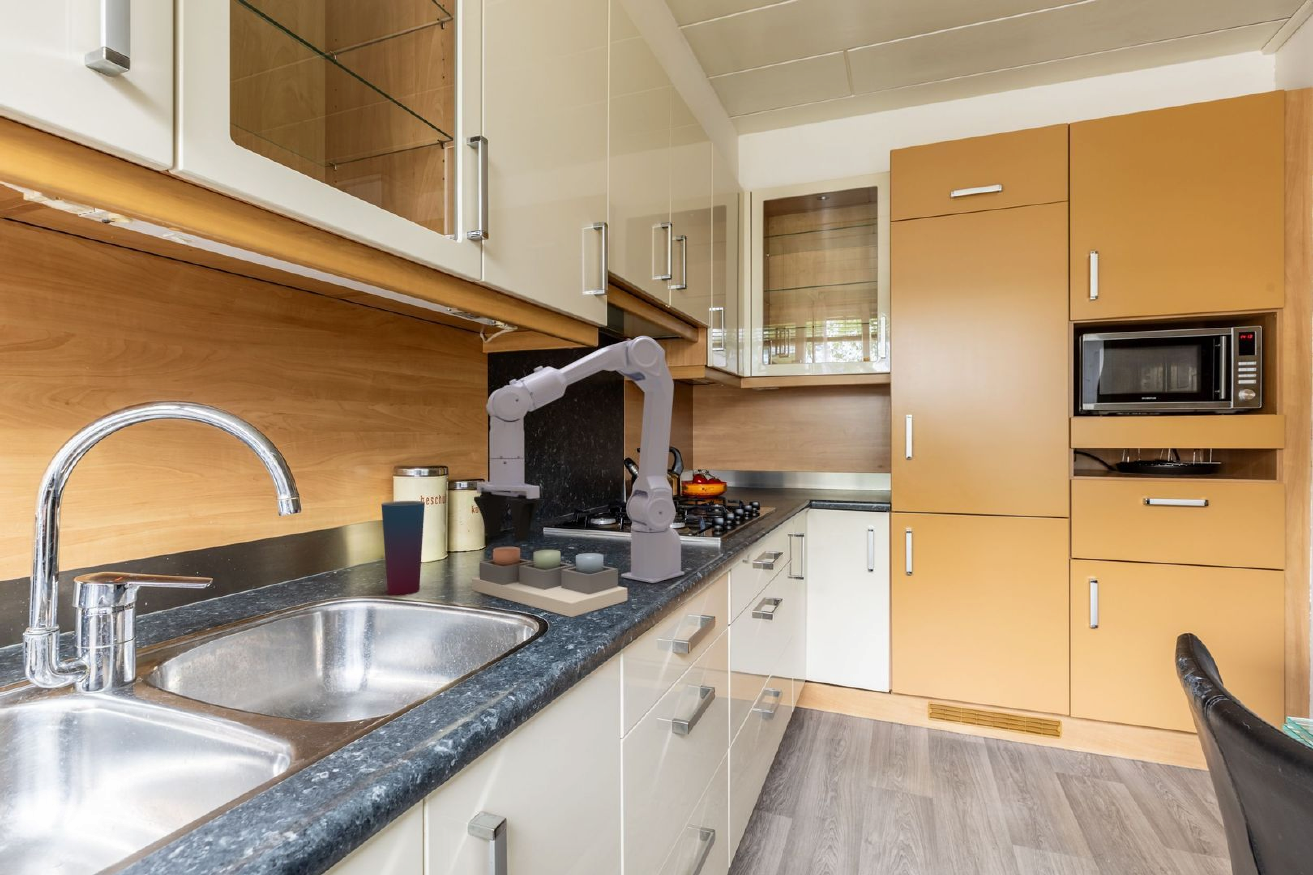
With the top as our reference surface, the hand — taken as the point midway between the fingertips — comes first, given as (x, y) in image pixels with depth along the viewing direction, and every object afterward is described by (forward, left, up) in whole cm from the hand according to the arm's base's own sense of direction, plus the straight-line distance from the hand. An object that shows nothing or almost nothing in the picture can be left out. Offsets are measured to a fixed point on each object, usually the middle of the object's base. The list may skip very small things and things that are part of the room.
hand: (507, 538), depth 109 cm
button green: (-3, +7, -4) cm, 9 cm away
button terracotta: (0, 0, -4) cm, 4 cm away
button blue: (-5, +15, -4) cm, 16 cm away
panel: (-3, +7, -9) cm, 12 cm away
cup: (+11, -13, -9) cm, 20 cm away
